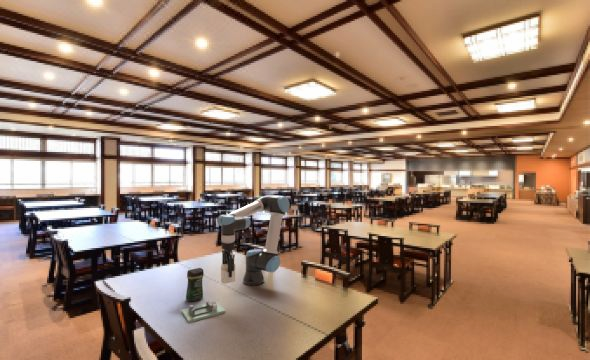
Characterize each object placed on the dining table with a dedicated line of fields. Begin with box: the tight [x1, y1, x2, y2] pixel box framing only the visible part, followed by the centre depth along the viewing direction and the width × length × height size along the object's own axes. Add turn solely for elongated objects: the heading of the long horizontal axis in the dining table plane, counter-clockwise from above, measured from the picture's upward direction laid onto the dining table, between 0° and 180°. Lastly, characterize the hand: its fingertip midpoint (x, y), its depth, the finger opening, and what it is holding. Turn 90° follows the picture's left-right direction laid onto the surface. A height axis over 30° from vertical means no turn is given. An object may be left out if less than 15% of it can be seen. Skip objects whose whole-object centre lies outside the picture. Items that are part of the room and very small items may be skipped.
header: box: [188, 300, 213, 317], centre depth 150 cm, size 11×7×4 cm, turn 127°
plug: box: [220, 263, 236, 285], centre depth 162 cm, size 7×5×10 cm, turn 126°
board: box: [181, 300, 227, 324], centre depth 152 cm, size 20×14×4 cm
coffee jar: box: [185, 267, 205, 302], centre depth 169 cm, size 10×8×19 cm
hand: (227, 280), depth 162 cm, fingers closed on plug, 4 cm apart
